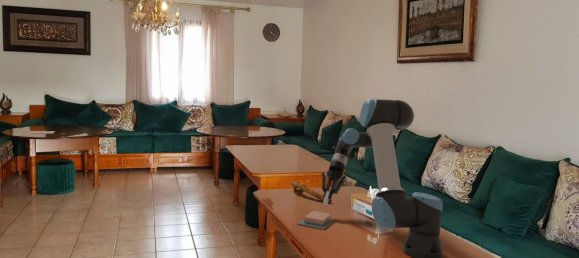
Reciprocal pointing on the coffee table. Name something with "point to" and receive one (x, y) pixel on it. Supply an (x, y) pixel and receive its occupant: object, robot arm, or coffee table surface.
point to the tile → (317, 218)
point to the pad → (315, 225)
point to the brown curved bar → (308, 191)
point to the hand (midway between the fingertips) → (324, 204)
